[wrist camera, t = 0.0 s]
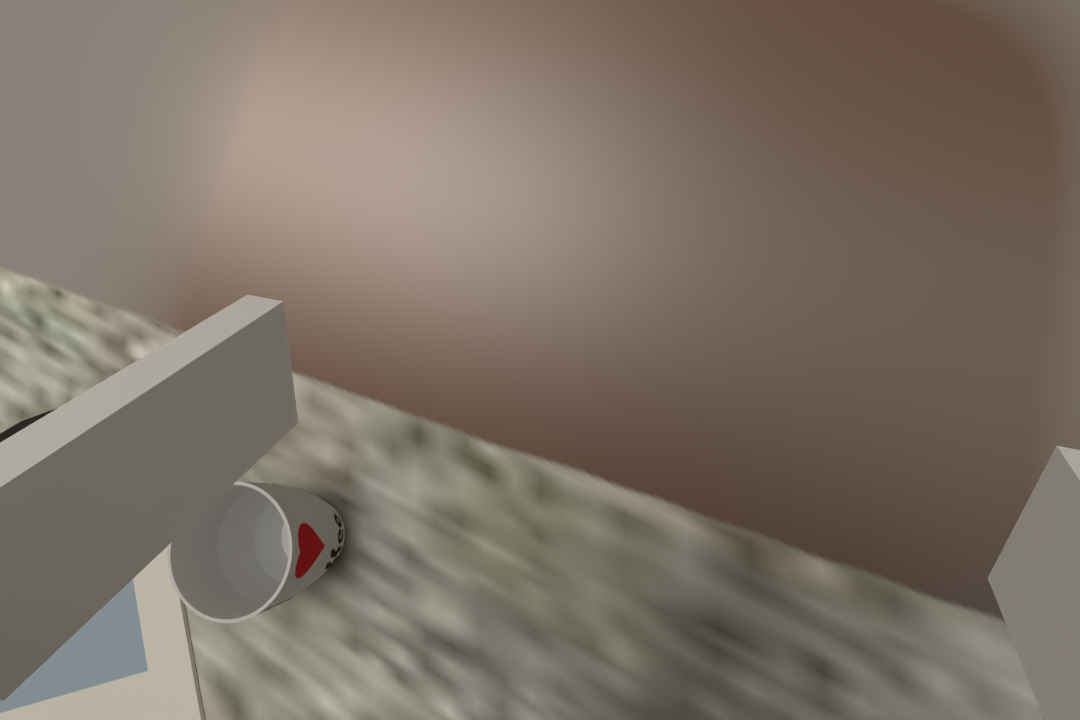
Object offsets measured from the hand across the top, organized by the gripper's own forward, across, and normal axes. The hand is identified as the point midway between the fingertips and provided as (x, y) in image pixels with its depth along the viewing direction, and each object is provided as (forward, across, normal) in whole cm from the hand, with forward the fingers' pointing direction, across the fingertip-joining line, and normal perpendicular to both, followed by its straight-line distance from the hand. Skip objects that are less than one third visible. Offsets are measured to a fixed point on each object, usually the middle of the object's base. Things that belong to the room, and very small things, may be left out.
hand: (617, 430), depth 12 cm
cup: (+23, +23, +30) cm, 44 cm away
